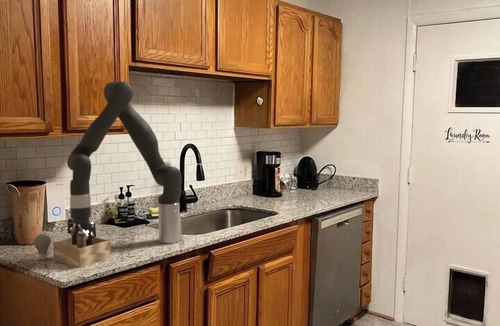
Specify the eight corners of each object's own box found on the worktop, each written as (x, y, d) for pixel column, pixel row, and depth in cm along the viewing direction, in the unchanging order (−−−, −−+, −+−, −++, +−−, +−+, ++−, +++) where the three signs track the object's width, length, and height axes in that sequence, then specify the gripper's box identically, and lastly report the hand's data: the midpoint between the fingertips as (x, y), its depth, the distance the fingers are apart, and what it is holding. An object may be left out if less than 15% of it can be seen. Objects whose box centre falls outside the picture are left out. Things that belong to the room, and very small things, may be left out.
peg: (83, 257, 188) (82, 232, 187) (88, 258, 186) (88, 233, 185) (75, 259, 185) (74, 234, 184) (81, 260, 183) (80, 235, 182)
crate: (84, 251, 196) (83, 234, 195) (110, 257, 187) (110, 240, 186) (54, 260, 184) (53, 242, 184) (80, 267, 176) (79, 248, 175)
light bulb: (48, 261, 182) (47, 236, 181) (32, 262, 182) (31, 236, 181) (53, 257, 188) (52, 232, 187) (37, 257, 188) (36, 232, 187)
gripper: (100, 205, 183) (102, 247, 184) (77, 202, 191) (78, 241, 192) (84, 209, 177) (85, 252, 178) (60, 205, 184) (62, 246, 186)
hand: (82, 246), depth 185 cm, fingers open, 8 cm apart
